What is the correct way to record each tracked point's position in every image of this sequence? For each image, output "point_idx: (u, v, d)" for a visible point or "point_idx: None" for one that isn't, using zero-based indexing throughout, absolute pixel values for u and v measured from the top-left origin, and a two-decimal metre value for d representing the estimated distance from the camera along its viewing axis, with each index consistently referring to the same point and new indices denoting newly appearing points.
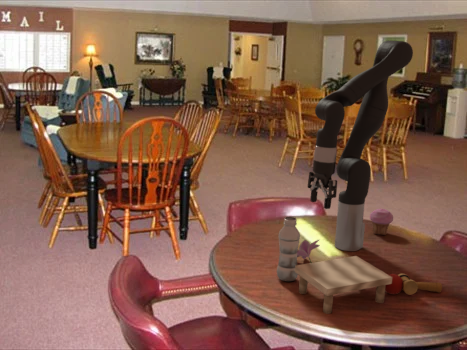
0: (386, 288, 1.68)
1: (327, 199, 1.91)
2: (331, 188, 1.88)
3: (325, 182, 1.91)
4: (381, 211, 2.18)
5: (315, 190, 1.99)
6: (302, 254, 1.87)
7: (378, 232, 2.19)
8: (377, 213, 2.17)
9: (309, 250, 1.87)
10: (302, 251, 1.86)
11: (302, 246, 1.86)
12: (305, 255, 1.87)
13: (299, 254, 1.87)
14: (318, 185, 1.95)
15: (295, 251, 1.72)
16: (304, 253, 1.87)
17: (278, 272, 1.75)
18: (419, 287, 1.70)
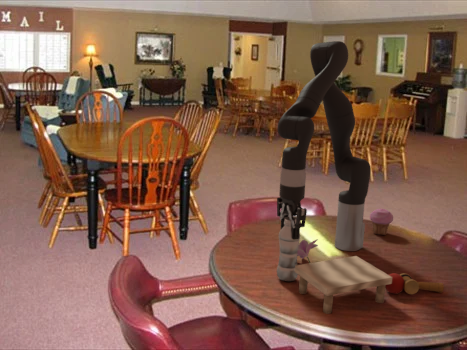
0: (387, 287, 1.68)
1: (295, 229, 1.68)
2: (299, 218, 1.65)
3: (293, 210, 1.68)
4: (381, 211, 2.18)
5: None
6: (300, 254, 1.87)
7: (378, 232, 2.19)
8: (377, 213, 2.17)
9: (307, 250, 1.87)
10: (301, 251, 1.87)
11: (300, 245, 1.86)
12: (303, 255, 1.88)
13: (297, 254, 1.88)
14: (287, 211, 1.71)
15: (295, 251, 1.72)
16: (302, 253, 1.87)
17: (278, 272, 1.75)
18: (421, 287, 1.70)
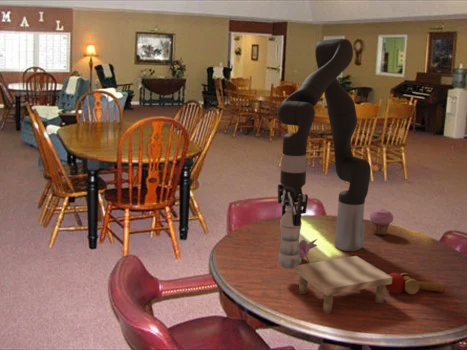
0: (387, 287, 1.69)
1: (296, 215, 1.67)
2: (300, 204, 1.64)
3: (294, 196, 1.67)
4: (381, 211, 2.18)
5: None
6: (300, 254, 1.88)
7: (378, 232, 2.19)
8: (377, 213, 2.17)
9: (307, 250, 1.88)
10: (300, 251, 1.87)
11: (300, 245, 1.86)
12: (303, 255, 1.88)
13: None
14: (288, 198, 1.70)
15: (297, 238, 1.71)
16: (302, 253, 1.87)
17: (280, 259, 1.74)
18: (421, 287, 1.70)
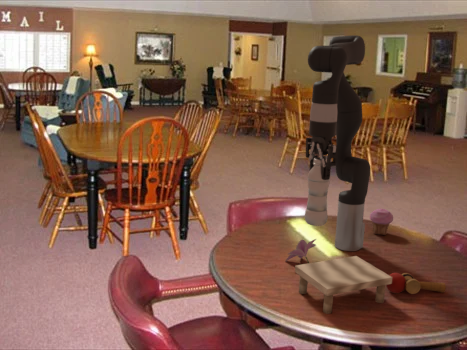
0: (389, 287, 1.69)
1: (325, 168, 1.59)
2: (330, 155, 1.55)
3: (324, 147, 1.58)
4: (381, 211, 2.18)
5: None
6: (299, 254, 1.88)
7: (378, 232, 2.19)
8: (377, 213, 2.17)
9: (306, 249, 1.88)
10: (299, 251, 1.87)
11: (299, 245, 1.86)
12: (302, 254, 1.88)
13: (296, 254, 1.88)
14: (317, 150, 1.61)
15: (325, 193, 1.62)
16: (301, 252, 1.87)
17: (306, 216, 1.65)
18: (422, 287, 1.70)
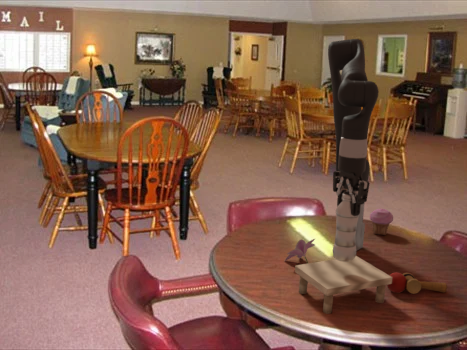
0: (389, 286, 1.69)
1: (355, 204, 1.55)
2: (361, 191, 1.52)
3: (354, 183, 1.55)
4: (381, 211, 2.18)
5: None
6: (298, 253, 1.88)
7: (378, 232, 2.19)
8: (377, 213, 2.17)
9: (305, 249, 1.88)
10: (298, 250, 1.87)
11: (298, 245, 1.86)
12: (301, 254, 1.88)
13: (295, 253, 1.88)
14: (346, 186, 1.58)
15: (354, 229, 1.59)
16: (300, 252, 1.87)
17: (335, 252, 1.62)
18: (423, 286, 1.70)
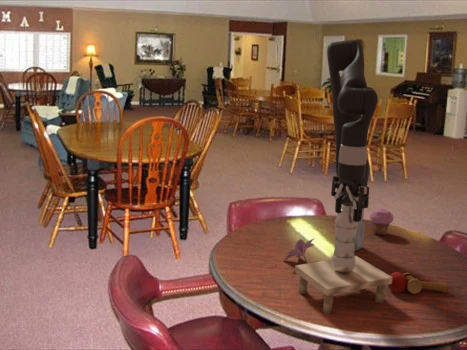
0: (390, 286, 1.69)
1: (357, 210, 1.55)
2: (362, 197, 1.52)
3: (354, 189, 1.55)
4: (381, 211, 2.18)
5: (341, 198, 1.63)
6: (297, 253, 1.88)
7: (378, 232, 2.19)
8: (377, 213, 2.17)
9: (304, 249, 1.88)
10: (298, 250, 1.87)
11: (297, 245, 1.86)
12: (300, 254, 1.88)
13: (294, 253, 1.88)
14: (345, 193, 1.59)
15: (353, 240, 1.60)
16: (299, 252, 1.87)
17: (334, 263, 1.62)
18: (424, 286, 1.70)
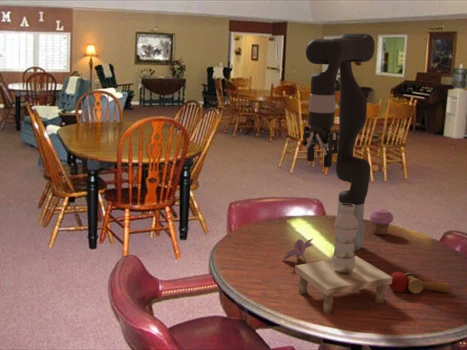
0: (391, 286, 1.70)
1: (327, 156, 1.63)
2: (331, 142, 1.60)
3: (324, 136, 1.63)
4: (381, 211, 2.18)
5: (312, 147, 1.71)
6: (296, 253, 1.88)
7: (378, 232, 2.19)
8: (377, 213, 2.17)
9: (303, 249, 1.88)
10: (297, 250, 1.87)
11: (296, 245, 1.86)
12: (299, 254, 1.88)
13: (293, 253, 1.88)
14: (315, 141, 1.67)
15: (353, 240, 1.60)
16: (298, 252, 1.87)
17: (334, 263, 1.62)
18: (425, 286, 1.70)
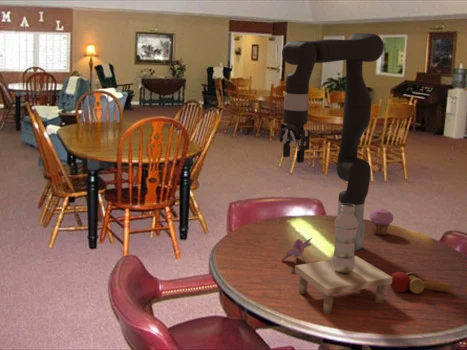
0: (392, 286, 1.70)
1: (299, 151, 1.72)
2: (303, 139, 1.70)
3: (297, 133, 1.72)
4: (381, 211, 2.18)
5: (287, 144, 1.81)
6: (295, 253, 1.88)
7: (378, 232, 2.19)
8: (377, 213, 2.17)
9: (302, 249, 1.88)
10: (296, 250, 1.87)
11: (295, 245, 1.86)
12: (298, 254, 1.88)
13: (292, 253, 1.88)
14: (290, 137, 1.76)
15: (353, 240, 1.60)
16: (297, 252, 1.88)
17: (334, 263, 1.62)
18: (426, 286, 1.70)
